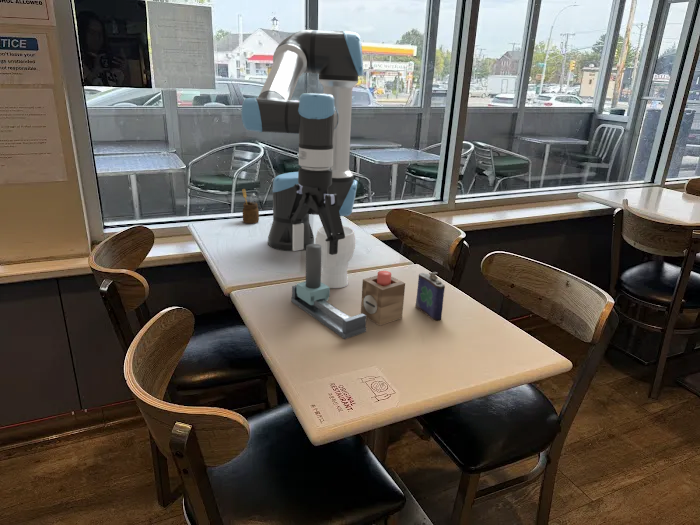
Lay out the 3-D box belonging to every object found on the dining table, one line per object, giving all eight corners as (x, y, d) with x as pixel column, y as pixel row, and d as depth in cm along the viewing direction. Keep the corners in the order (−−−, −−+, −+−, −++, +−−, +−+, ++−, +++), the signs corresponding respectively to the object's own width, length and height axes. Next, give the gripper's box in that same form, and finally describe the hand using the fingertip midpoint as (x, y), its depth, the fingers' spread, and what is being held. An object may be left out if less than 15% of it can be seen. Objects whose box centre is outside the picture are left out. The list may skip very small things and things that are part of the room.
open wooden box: (358, 314, 118) (360, 279, 115) (382, 306, 123) (385, 273, 119) (377, 326, 113) (380, 290, 110) (402, 317, 118) (405, 283, 114)
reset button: (373, 290, 116) (374, 272, 114) (383, 287, 118) (385, 269, 116) (382, 295, 114) (383, 277, 112) (392, 292, 116) (394, 274, 114)
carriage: (296, 296, 121) (296, 244, 116) (315, 291, 124) (316, 240, 119) (309, 305, 117) (310, 252, 112) (329, 300, 120) (331, 248, 115)
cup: (306, 282, 135) (307, 229, 130) (333, 272, 142) (335, 222, 137) (334, 294, 128) (336, 239, 123) (361, 283, 136) (364, 231, 130)
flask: (413, 305, 124) (417, 266, 120) (423, 304, 125) (427, 264, 121) (434, 322, 116) (440, 280, 113) (444, 320, 118) (450, 278, 114)
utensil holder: (251, 225, 181) (250, 192, 177) (238, 221, 184) (237, 190, 180) (262, 221, 186) (261, 190, 182) (249, 218, 189) (248, 187, 185)
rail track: (291, 301, 123) (291, 286, 122) (311, 296, 127) (311, 281, 125) (344, 339, 107) (345, 321, 106) (366, 331, 110) (367, 314, 109)
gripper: (272, 159, 116) (273, 245, 123) (335, 178, 98) (331, 278, 105) (299, 158, 120) (298, 241, 128) (364, 175, 102) (359, 271, 109)
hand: (313, 258), depth 116 cm, fingers open, 13 cm apart
